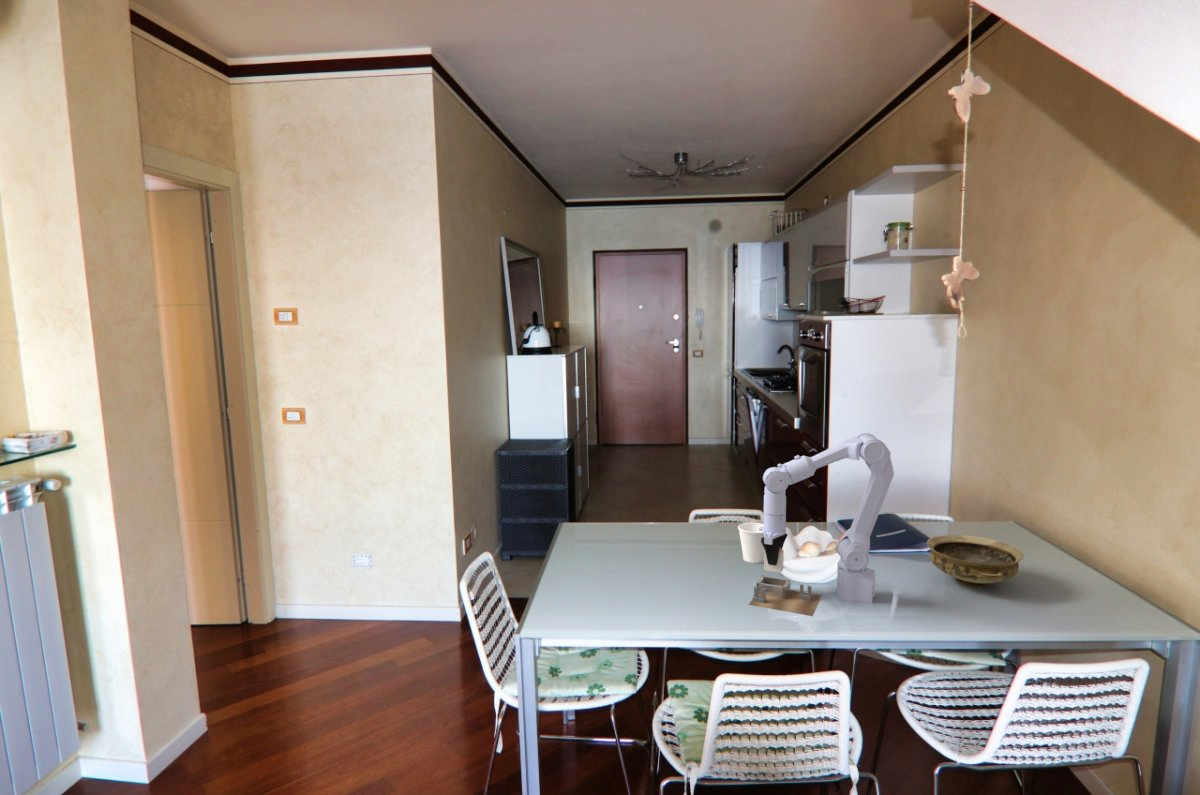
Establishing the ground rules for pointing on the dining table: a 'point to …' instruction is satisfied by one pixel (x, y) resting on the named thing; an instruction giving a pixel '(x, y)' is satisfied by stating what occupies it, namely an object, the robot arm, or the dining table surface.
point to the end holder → (774, 586)
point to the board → (791, 603)
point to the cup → (752, 542)
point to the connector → (772, 567)
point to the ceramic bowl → (974, 559)
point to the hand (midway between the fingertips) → (773, 562)
